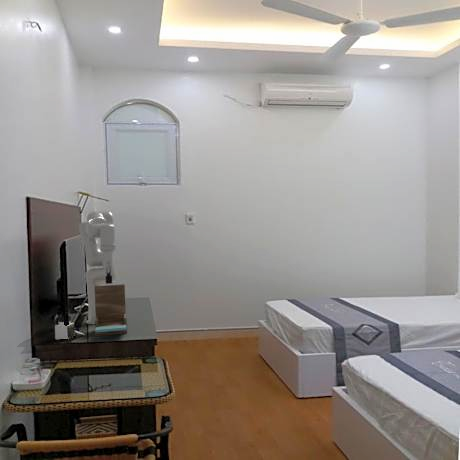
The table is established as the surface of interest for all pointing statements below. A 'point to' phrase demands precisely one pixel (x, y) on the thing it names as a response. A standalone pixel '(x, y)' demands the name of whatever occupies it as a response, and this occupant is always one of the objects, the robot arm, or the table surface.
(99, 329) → the panel
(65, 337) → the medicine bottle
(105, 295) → the striped wooden block
